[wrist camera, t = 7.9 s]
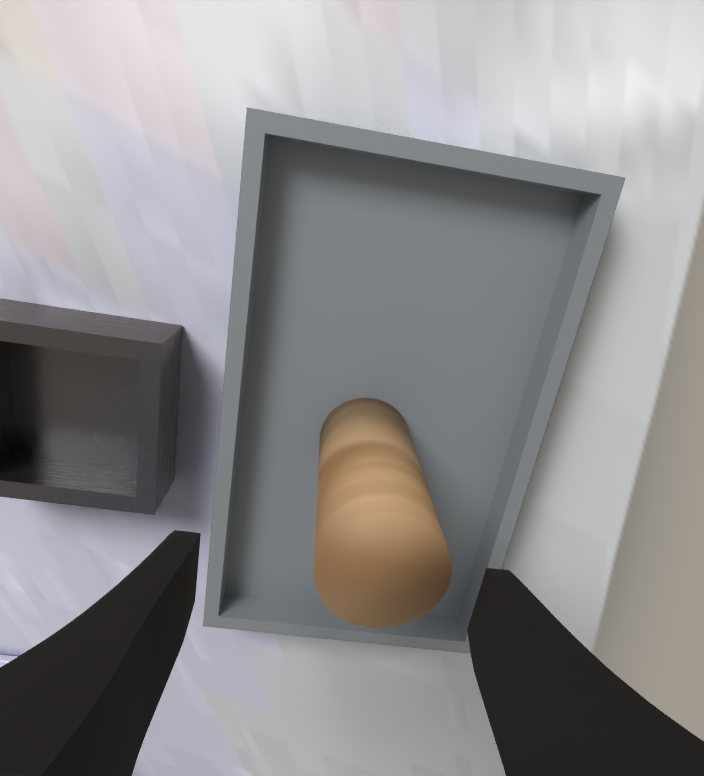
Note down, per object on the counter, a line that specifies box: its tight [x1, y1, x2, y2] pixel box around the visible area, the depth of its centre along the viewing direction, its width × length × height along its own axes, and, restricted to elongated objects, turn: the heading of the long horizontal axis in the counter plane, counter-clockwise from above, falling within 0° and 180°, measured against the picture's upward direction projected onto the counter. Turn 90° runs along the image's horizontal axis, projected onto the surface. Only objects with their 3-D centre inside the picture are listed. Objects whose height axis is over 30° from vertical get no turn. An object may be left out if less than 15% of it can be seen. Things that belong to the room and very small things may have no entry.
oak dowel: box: [314, 398, 452, 628], centre depth 17 cm, size 4×4×8 cm
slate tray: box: [203, 108, 625, 653], centre depth 21 cm, size 20×12×2 cm, turn 171°
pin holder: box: [0, 299, 182, 515], centre depth 20 cm, size 7×7×3 cm
